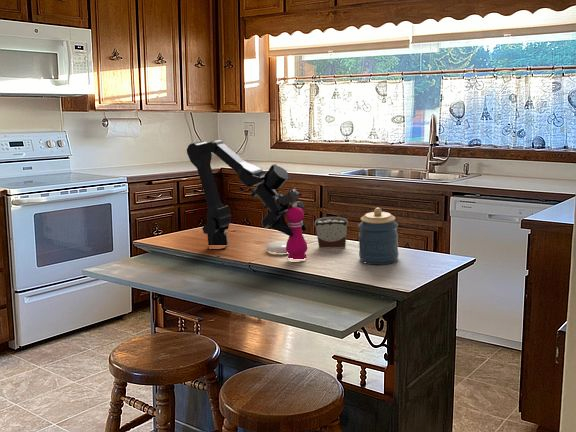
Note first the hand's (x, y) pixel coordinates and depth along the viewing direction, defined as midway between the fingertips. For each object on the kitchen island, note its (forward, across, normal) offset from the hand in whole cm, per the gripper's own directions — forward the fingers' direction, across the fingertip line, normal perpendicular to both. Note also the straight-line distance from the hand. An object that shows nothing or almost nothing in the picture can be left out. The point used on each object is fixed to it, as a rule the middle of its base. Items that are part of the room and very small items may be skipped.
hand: (299, 233), depth 215 cm
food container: (+7, +20, +6) cm, 22 cm away
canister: (+23, +12, -9) cm, 28 cm away
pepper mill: (+6, 0, +8) cm, 10 cm away
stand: (-2, +7, +16) cm, 17 cm away
